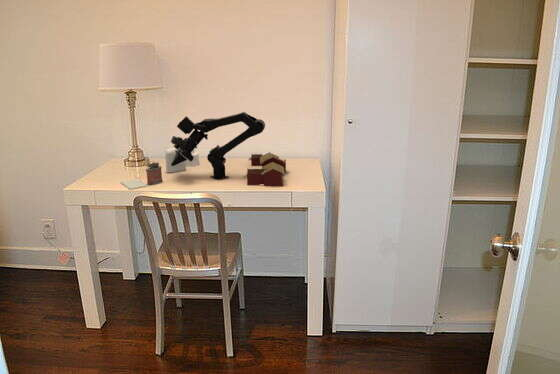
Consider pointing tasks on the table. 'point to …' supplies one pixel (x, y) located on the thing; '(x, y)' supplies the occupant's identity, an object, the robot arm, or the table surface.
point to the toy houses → (266, 170)
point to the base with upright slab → (194, 161)
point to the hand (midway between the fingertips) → (171, 165)
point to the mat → (134, 184)
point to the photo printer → (169, 158)
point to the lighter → (154, 174)
